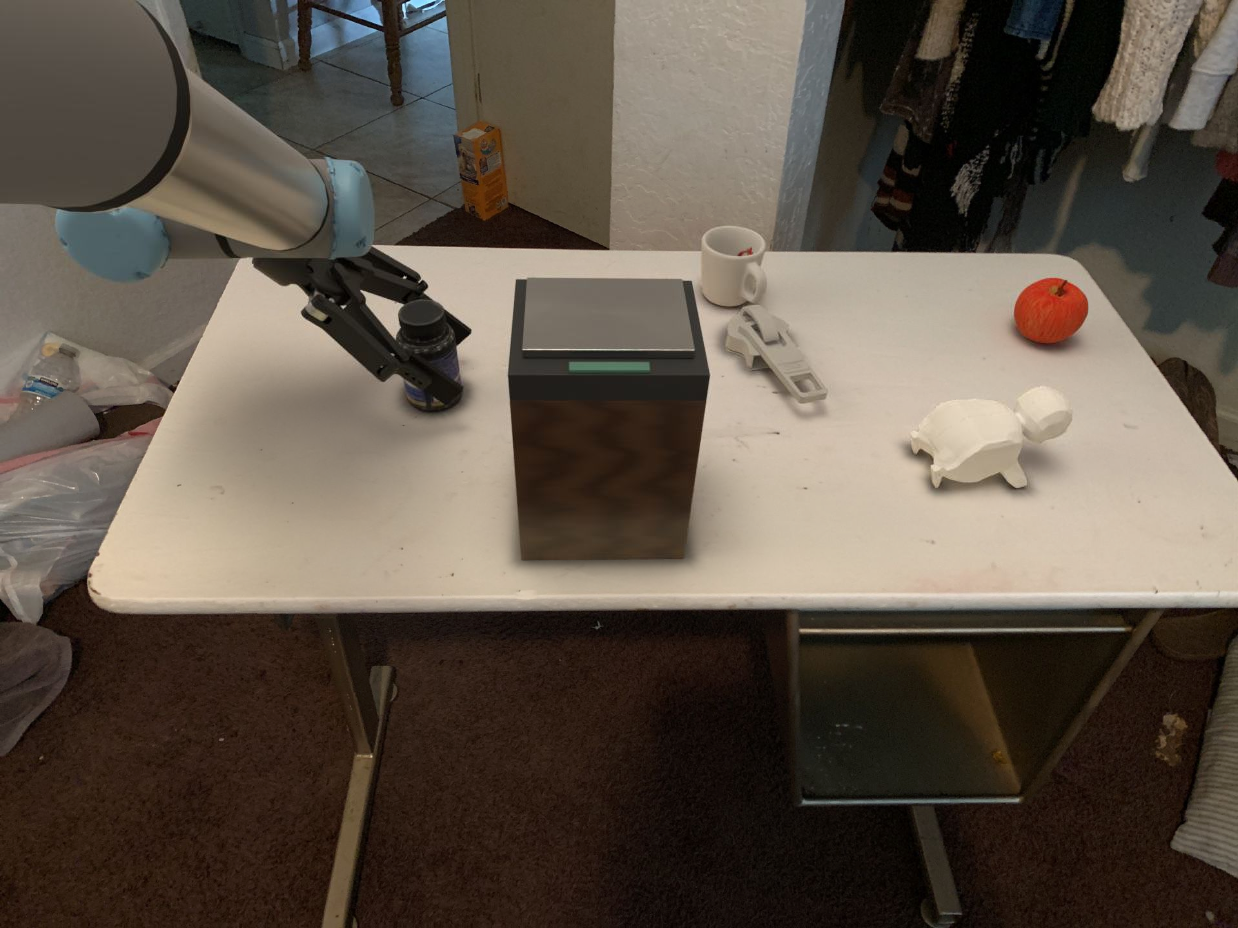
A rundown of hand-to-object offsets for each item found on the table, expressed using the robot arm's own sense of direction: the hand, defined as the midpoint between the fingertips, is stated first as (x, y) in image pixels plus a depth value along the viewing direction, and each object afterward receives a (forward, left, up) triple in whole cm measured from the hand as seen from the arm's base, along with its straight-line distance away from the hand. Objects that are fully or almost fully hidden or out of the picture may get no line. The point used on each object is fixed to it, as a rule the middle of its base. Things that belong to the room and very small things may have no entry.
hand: (459, 366), depth 90 cm
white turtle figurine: (+55, -11, -4) cm, 56 cm away
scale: (+15, -17, +15) cm, 27 cm away
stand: (+15, -17, -4) cm, 23 cm away
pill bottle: (-3, 0, -4) cm, 5 cm away
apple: (+71, +12, -4) cm, 72 cm away
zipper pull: (+36, +5, -4) cm, 36 cm away
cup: (+33, +19, -4) cm, 38 cm away
